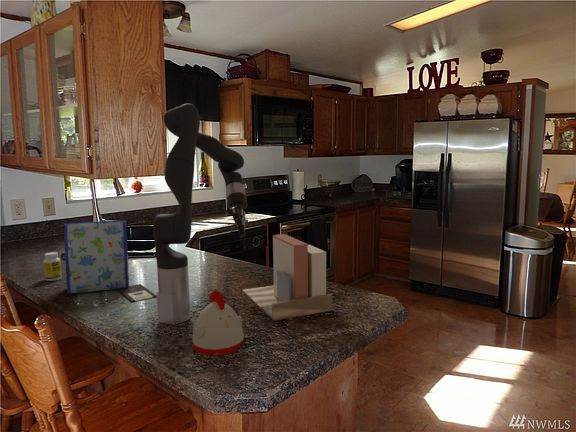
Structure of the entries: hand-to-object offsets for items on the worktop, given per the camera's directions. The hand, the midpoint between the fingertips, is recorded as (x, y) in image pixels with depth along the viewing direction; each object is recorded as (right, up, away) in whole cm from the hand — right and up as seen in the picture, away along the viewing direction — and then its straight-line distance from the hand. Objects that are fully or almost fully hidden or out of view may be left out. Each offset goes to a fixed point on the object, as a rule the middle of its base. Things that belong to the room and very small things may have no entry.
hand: (242, 235), depth 159 cm
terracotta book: (+18, -22, -15) cm, 32 cm away
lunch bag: (-57, -21, +9) cm, 61 cm away
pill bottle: (-81, -19, +20) cm, 86 cm away
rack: (+16, -23, -10) cm, 29 cm away
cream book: (+25, -22, -16) cm, 37 cm away
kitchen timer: (-2, -28, -41) cm, 50 cm away
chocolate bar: (-40, -22, +1) cm, 45 cm away
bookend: (+13, -23, -22) cm, 34 cm away
